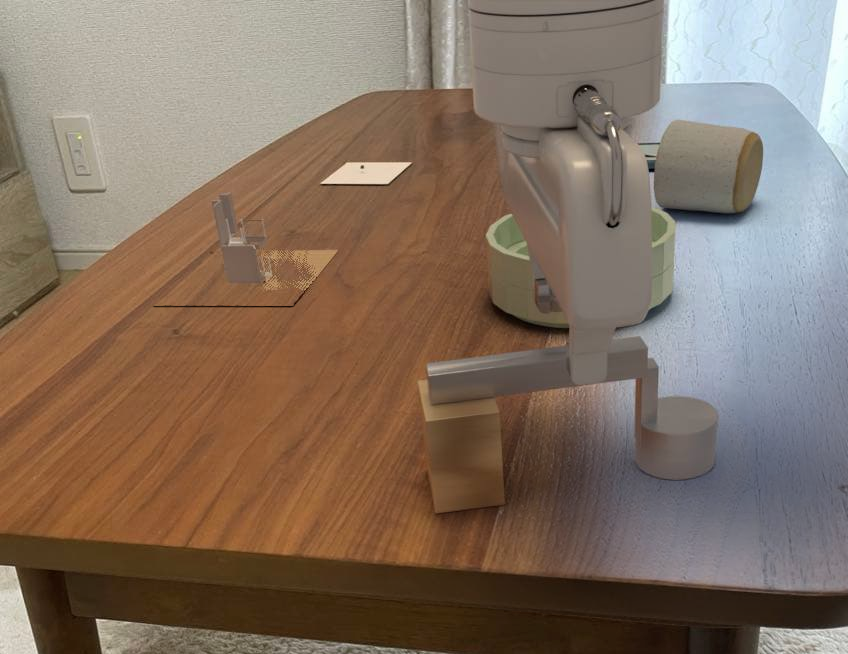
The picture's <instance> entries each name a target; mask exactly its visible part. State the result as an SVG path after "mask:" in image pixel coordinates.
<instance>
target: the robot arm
mask: <svg viewBox="0 0 848 654" xmlns="http://www.w3.org/2000/svg"><path fill="white" fill-rule="evenodd" d="M467 2H468V3H467V6H468V9H467V10H468V28H469V45H470V62H471V65H470V66H471V77H472V78H471V81H472V82H471V83H472V102H473V111H474V112H473V113H474V114H475V115H476V116H477V117H478V118H479V119H481V120H483V121H485V122H488V123H491V124H492V127H493V128H492V129H493V135H494V143H495V152H496V159H497V166H498V172H499V178H500V184H501V188H502V189H501V190H502V194H503V198H504V201H505V203H506V204H505V205H506V207H507V208H508V210H509V212H510V214H512V216H513V218H514V220H515V222H516V223H517V225H518V227H519V229H520V231H521V233H522V235H523V237H524V239H525V241H526V243H527V248H528V254H529V259H530V265H531V271H532V275H533V299H534V301H535V304H536V306H537V307H538V309H539V311H540V312H541V313H544V314H547V313H551V312H563V314H564V315H565V317H566V320H567V322H568V323H569V325H570V327H569V328H568V329H569V331H568V341H567V342H565V346H566V359H567V360H566V368H567V370H568V373H569V375H570V377H571V380H572V381H573V383H574V384H576V385H578V386H577V387H582V386H581V385H583V386H589V385H590V384H591V385H598V384H602V383H601V382H603V381H604V380H605V379H606V376H607V351H608V349H609V346H610V343H611V340H613V338H614V334H615V331H616V328H621V327H628V326H633V325H638V324H641V323H642V322H644V320H645V319H646V316H647V315H648V312H649V311H648V309H649V306H650V302H651V295H652V211H651V206H652V191H651V190H652V189H651V177H650V171H649V169H648V164H647V160H646V157H645V154H644V152H643V150H642V149H641V147H640V146H639V145H638V144H637V143H638V142H636V141H635V140H634V139H633V117H638V116H640V115H643V114H645V113H647V112H649V111H651V110H652V109H654V108H655V107H656V106H657V105H659V102H660V100H661V85H662V84H661V83H662V82H661V81H662V61H663V60H662V57H663V56H662V55H663V39H664V38H663V37H664V36H663V35H664V13H665V0H468V1H467ZM591 385H590V386H591Z"/></svg>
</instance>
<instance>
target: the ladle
mask: <svg viewBox="0 0 848 654" xmlns="http://www.w3.org/2000/svg"><path fill="white" fill-rule="evenodd" d="M643 339H644V338H642V336H641V335H637V336H630V337H623V338H622V337H621V338H615V339H614V338H612V340H611V343H610V346H609V349H608V351H607V376H606V379H605V380H604V381H603V382H601V383H600V384H605V383H613V382H621V381H630V380H635V390H634V391H635V396H634V440H635V441H634V443H635V444H634V445H635V446H634V447H635V448H634V461H635V464H636V466H637V468H639V470H641V471H642V472H644V473H645V474H647V475H649V476H652V477H653V478H657V479H663V480H669V481H683V480H690V479H695V478H698V477H700V476H703V475H705V474H707V473H709V471H711V470H712V469H713V468H714V466H715V464H716V457H717V456H716V455H717V441H718V428H719V413H718V410H717V409H716V408H715V407H714V405H712V404H710V403H709V402H707V401H705V400H702V399H699V398H695V397H692V396H691V397H690V396H680V395H679V396H678V395H672V396H671V395H670V396H664V397H663V396H662V397H659V372H660V371H659V369H660V366H659V364H658V363H657V361H656V360H655V358H654V357H649V347H648V346H647V344H646V343H645V341H644V340H643ZM566 360H567V359H566V345H559V346H552V347H545V348H544V347H543V348H536V349H535V348H534V349H528V350H521V351H514V352H504V353H497V354H490V355H482V356H481V355H480V356H475V357H467V358H466V357H465V358H459V359H451V360H443V361H435V362H434V361H433V362H428V363H425V370H426V371H425V372H426V380H427V382H428V391H429V396H430V401H431V405H436V404H444V403H452V402H460V401H467V400H475V399H483V398H490V397H495V398H497V397H498V398H499V397H505V396H512V395H519V394H520V395H521V394H529V393H536V392H544V391H551V390H559V389H567V388H575V387H579V386H578V385H576V384H574V383H573V381H572V380H571V377H570V375H569V373H568V370H567V368H566ZM591 385H592V384H590V386H591ZM582 386H584V385H581V386H580V387H582Z"/></svg>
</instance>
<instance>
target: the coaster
mask: <svg viewBox="0 0 848 654" xmlns="http://www.w3.org/2000/svg"><path fill="white" fill-rule="evenodd" d="M412 163H413V162H412V161H411V162H405V161H404V162H403V161H402V162H399V161H398V162H397V161H396V162H394V161H393V162H392V161H391V162H387V161H386V162H379V161H377V162H373V161H371V162H369V161H368V162H364V161H363V162H346V163H345V164H343V165H342V166H341V167H340V168H338V169H337V170H335V171H334V172H333V173H332V174H330V175H329V176H327V177H326V178H325V179H324V180H323V181H321V182H320V183H319V184H321V185H322V184H323V185H324V184H325V185H334V184H335V185H389V184H390V183H391V182H392V181H393V180H394V179H395V178H397V177H398V176H399V175H400V174H402V172H403V171H405V170H406V169H407V168H409V166H411V164H412Z"/></svg>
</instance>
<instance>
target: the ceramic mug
mask: <svg viewBox="0 0 848 654" xmlns="http://www.w3.org/2000/svg"><path fill="white" fill-rule="evenodd" d="M763 162H764V144H763V141H762V138H761V136H760V135H759V133H757V132H754V131H751V130H749V129H746V128H743V127H738V126H737V127H735V126H727V125H718V124H713V123H712V124H711V123H705V122H699V121H691V120H684V119H675V120H674V119H673V120H672V121H671V122H670V123H669V124H668V126H667V127H666V128H665V131H663V134H662V136H661V139H660V146H659V149H658V152H657V156H656V163H655V168H654V173H653V193H654V200H655V203H656V204H657V205H658V206H659V208H662V209H669V210H670V209H673V210H682V211H696V212H708V213H716V214H736V213H742V212H743V211H745V210H747V208H749V207H750V205H751V204H752V202H753V200H754V198H755V195H756V192H757V190H758V186H759V183H760V180H761V174H762V170H763V164H764V163H763Z"/></svg>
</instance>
